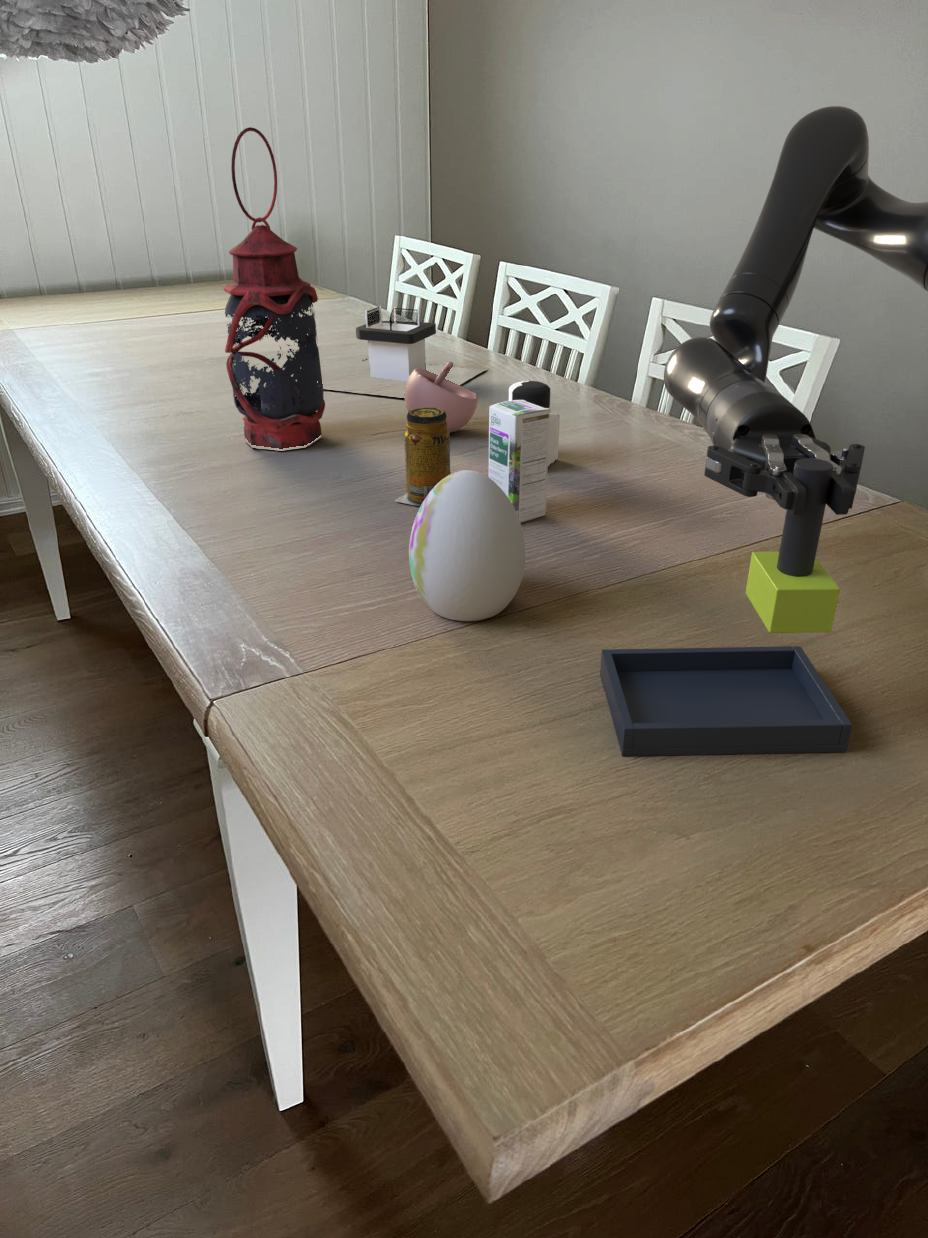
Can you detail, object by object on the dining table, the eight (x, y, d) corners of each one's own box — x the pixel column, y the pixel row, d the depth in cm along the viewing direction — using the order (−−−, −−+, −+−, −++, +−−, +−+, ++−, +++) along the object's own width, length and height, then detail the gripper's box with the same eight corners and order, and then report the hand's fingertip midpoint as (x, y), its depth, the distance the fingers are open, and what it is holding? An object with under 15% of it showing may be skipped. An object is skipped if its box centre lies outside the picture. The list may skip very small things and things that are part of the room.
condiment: (420, 485, 132) (417, 402, 126) (473, 494, 128) (472, 409, 122) (393, 502, 126) (389, 416, 120) (448, 512, 123) (446, 424, 117)
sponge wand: (802, 592, 80) (830, 448, 74) (831, 632, 74) (864, 479, 68) (745, 593, 80) (768, 449, 74) (769, 633, 74) (796, 480, 68)
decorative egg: (449, 570, 107) (446, 445, 100) (543, 594, 102) (548, 464, 95) (388, 614, 98) (381, 480, 91) (489, 643, 93) (489, 503, 85)
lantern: (300, 459, 142) (267, 127, 120) (217, 450, 146) (171, 128, 124) (343, 429, 155) (320, 125, 133) (266, 422, 159) (232, 126, 137)
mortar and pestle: (486, 439, 150) (486, 368, 144) (414, 446, 147) (411, 374, 141) (468, 418, 160) (467, 351, 154) (400, 424, 157) (396, 356, 152)
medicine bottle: (558, 459, 141) (562, 380, 135) (540, 473, 135) (542, 392, 129) (516, 452, 144) (517, 375, 138) (496, 466, 138) (496, 386, 132)
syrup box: (485, 512, 123) (486, 404, 116) (521, 502, 125) (523, 396, 118) (512, 526, 118) (514, 415, 111) (547, 515, 121) (551, 406, 114)
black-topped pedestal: (488, 370, 189) (488, 302, 183) (432, 403, 168) (430, 327, 162) (368, 358, 199) (364, 293, 193) (301, 387, 179) (295, 316, 172)
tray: (795, 671, 87) (800, 645, 86) (846, 752, 76) (852, 724, 75) (599, 674, 87) (601, 649, 86) (622, 756, 76) (624, 728, 75)
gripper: (684, 391, 83) (737, 456, 67) (840, 389, 83) (927, 454, 68) (675, 471, 86) (723, 549, 71) (825, 469, 86) (904, 547, 71)
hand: (822, 502), depth 69 cm, fingers closed on sponge wand, 3 cm apart
